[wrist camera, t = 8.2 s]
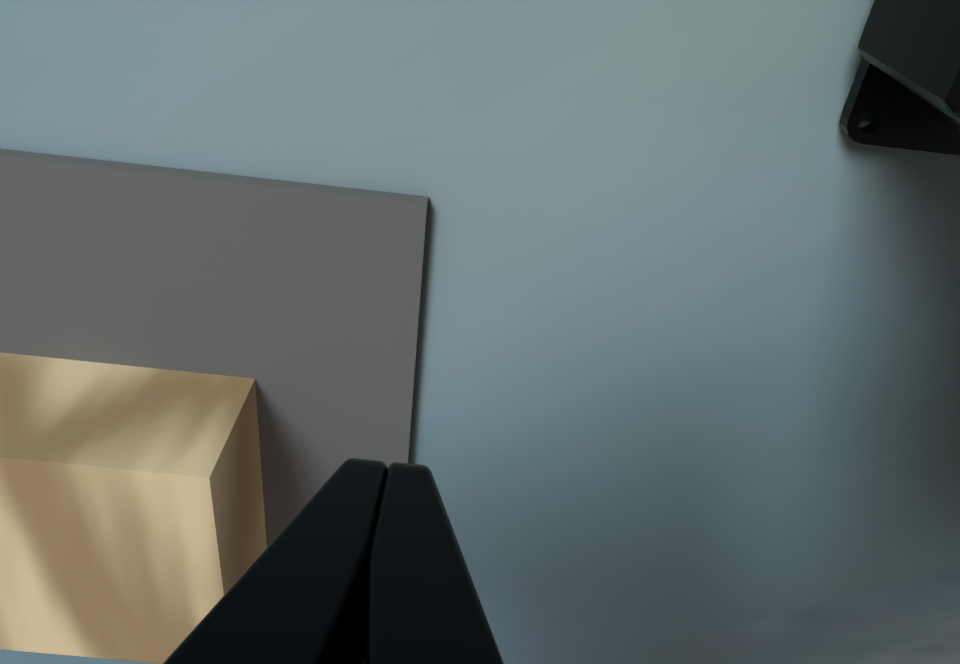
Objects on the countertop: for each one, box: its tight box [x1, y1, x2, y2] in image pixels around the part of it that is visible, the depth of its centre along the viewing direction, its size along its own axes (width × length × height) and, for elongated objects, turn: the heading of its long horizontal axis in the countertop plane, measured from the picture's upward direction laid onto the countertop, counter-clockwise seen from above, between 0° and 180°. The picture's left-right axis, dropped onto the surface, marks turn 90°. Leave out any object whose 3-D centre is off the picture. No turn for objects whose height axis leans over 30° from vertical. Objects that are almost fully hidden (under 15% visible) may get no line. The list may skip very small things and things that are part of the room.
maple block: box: [0, 352, 267, 664], centre depth 22 cm, size 4×8×10 cm
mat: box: [0, 149, 428, 547], centre depth 24 cm, size 15×20×1 cm
